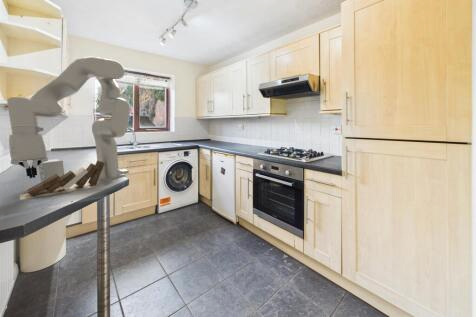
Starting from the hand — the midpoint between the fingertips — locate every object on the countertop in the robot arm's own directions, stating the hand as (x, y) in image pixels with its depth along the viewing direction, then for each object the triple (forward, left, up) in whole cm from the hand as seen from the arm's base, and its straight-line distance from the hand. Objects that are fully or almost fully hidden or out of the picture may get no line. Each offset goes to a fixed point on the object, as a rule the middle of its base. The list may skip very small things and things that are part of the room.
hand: (32, 177), depth 88 cm
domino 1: (-4, -1, -6) cm, 7 cm away
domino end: (+2, 0, -6) cm, 6 cm away
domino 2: (-9, -1, -6) cm, 11 cm away
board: (-8, -1, -8) cm, 12 cm away
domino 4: (-19, -3, -7) cm, 21 cm away
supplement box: (-5, -13, -8) cm, 17 cm away
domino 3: (-14, -2, -6) cm, 16 cm away
